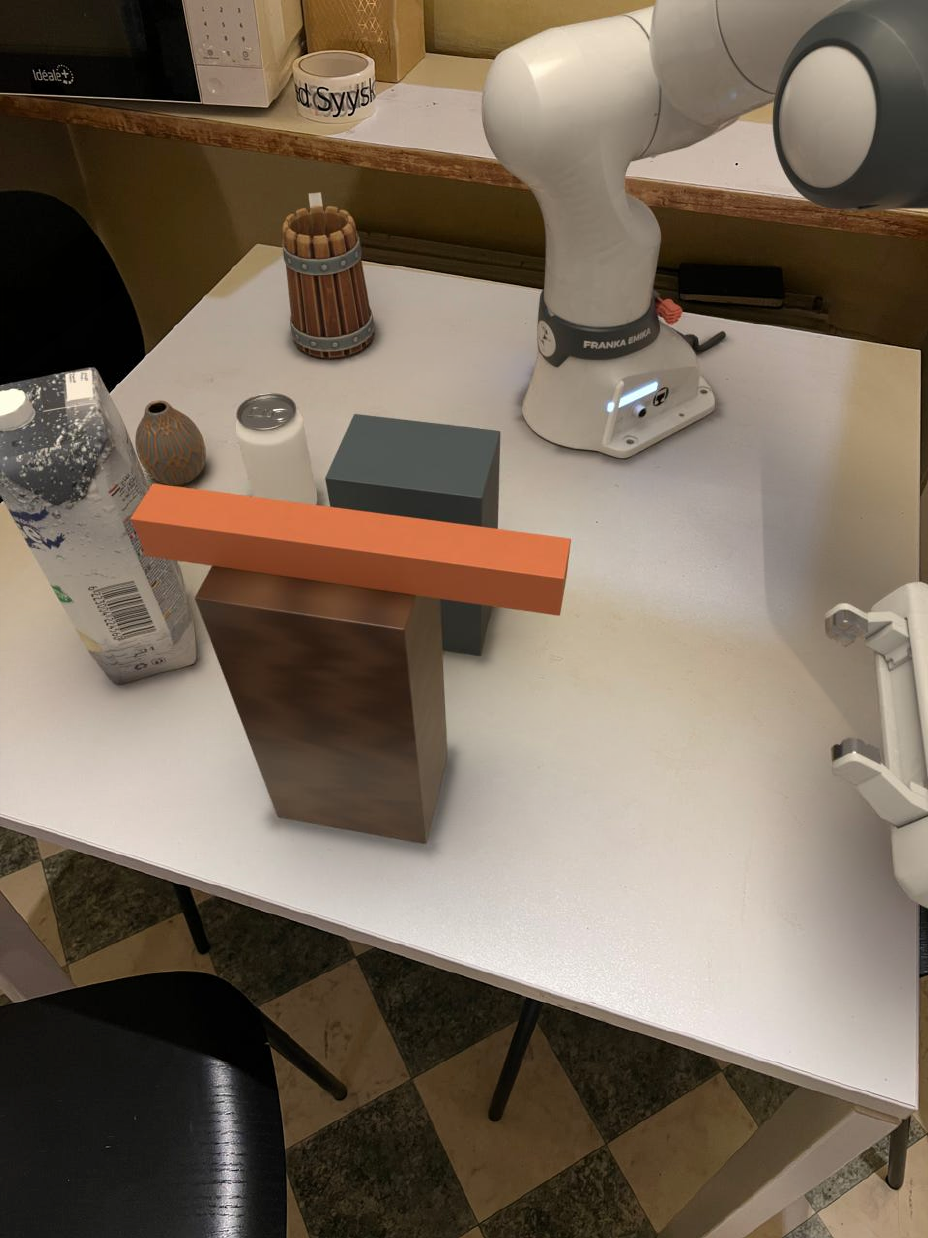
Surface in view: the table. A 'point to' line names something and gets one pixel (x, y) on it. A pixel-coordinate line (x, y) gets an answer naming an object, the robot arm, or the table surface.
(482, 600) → the rod
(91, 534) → the juice carton
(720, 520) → the table surface
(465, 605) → the lower stand
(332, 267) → the mug
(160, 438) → the vase
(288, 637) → the tall stand
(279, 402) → the can
